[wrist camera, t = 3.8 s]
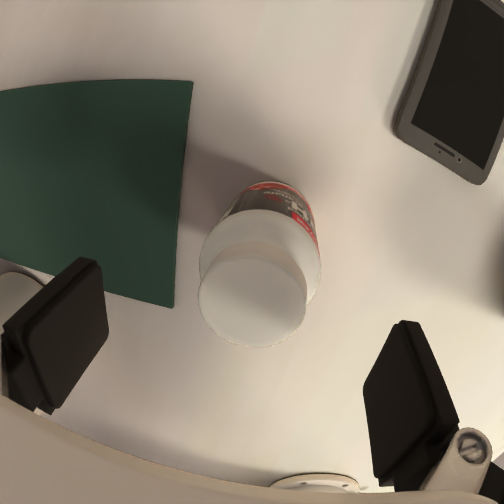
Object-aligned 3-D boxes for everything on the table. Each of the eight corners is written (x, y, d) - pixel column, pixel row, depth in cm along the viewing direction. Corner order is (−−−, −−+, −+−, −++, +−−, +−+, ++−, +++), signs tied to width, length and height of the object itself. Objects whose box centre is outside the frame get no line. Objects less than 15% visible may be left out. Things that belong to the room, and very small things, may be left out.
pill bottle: (328, 201, 19) (354, 276, 10) (292, 272, 22) (286, 379, 13) (246, 165, 19) (202, 211, 10) (217, 241, 21) (164, 331, 12)
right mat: (193, 81, 17) (191, 81, 17) (174, 306, 24) (172, 309, 24) (-9, 93, 18) (-13, 93, 18) (-1, 255, 25) (-3, 256, 25)
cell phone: (527, 28, 11) (533, 27, 11) (477, 188, 17) (482, 190, 17) (447, -32, 11) (452, -35, 10) (389, 135, 17) (392, 135, 16)
